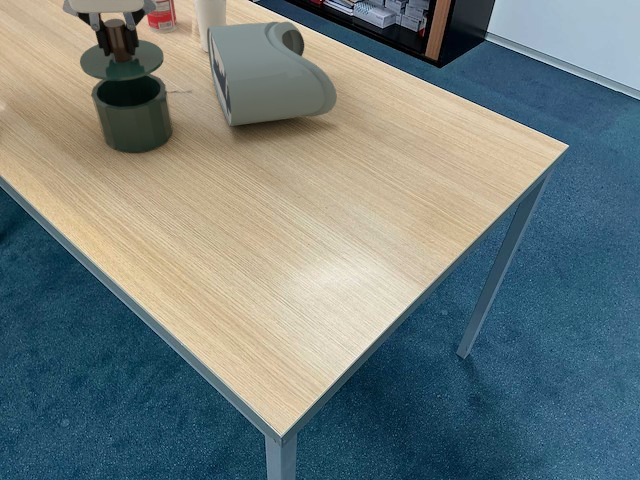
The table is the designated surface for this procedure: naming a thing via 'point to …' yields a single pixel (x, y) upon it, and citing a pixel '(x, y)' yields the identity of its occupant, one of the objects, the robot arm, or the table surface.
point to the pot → (133, 113)
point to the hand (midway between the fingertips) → (120, 50)
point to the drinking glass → (209, 17)
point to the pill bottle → (163, 17)
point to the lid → (121, 56)
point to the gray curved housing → (266, 73)
